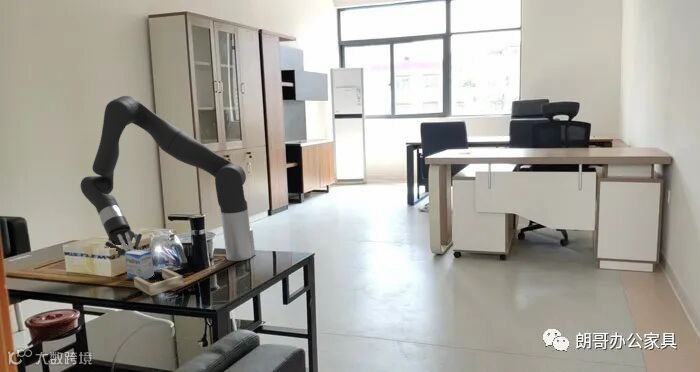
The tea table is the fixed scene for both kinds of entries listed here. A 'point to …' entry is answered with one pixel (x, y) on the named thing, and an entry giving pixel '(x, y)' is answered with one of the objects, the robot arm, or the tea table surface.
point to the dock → (160, 283)
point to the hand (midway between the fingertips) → (133, 261)
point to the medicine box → (139, 264)
